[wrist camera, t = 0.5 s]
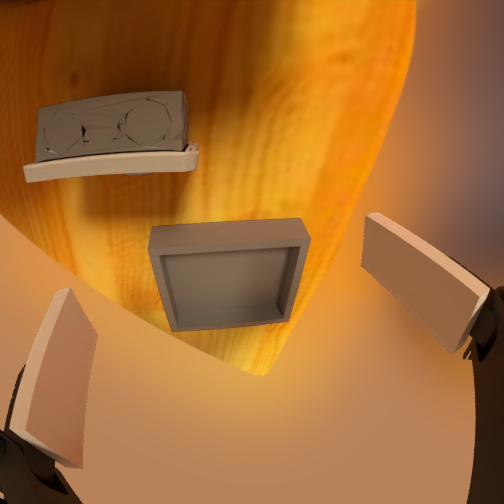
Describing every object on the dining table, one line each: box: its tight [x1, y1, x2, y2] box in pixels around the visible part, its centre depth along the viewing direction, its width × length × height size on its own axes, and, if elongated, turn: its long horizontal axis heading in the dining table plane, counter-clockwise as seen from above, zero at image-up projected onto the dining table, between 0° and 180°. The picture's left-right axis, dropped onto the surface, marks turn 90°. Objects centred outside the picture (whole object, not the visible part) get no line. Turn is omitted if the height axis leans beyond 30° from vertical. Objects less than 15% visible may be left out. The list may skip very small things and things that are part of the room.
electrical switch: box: [23, 91, 199, 183], centre depth 13 cm, size 9×5×9 cm, turn 83°
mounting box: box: [148, 218, 311, 332], centre depth 27 cm, size 13×14×3 cm
